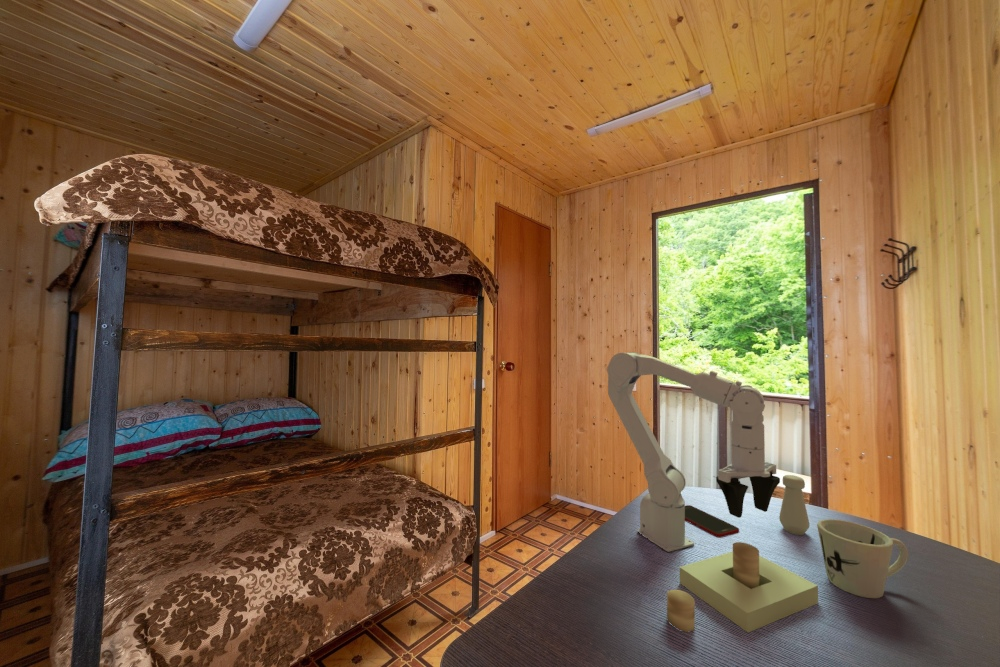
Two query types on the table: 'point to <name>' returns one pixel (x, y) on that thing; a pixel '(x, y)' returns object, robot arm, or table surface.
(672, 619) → the short peg
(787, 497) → the salt shaker
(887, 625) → the table surface
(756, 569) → the tall peg
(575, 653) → the table surface
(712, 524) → the cell phone
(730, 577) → the hole board
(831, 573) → the mug
